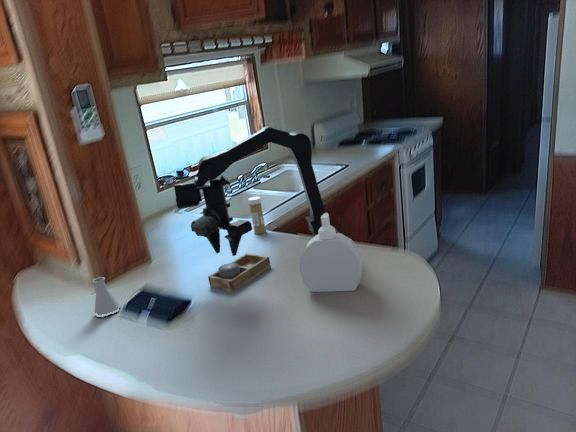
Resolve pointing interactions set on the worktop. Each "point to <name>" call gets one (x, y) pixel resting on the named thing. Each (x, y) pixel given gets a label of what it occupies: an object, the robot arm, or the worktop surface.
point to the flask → (104, 298)
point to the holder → (241, 272)
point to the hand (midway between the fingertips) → (226, 254)
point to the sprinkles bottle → (257, 215)
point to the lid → (229, 270)
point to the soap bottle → (331, 261)
